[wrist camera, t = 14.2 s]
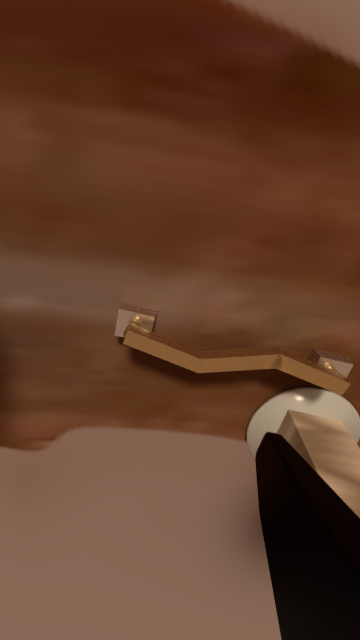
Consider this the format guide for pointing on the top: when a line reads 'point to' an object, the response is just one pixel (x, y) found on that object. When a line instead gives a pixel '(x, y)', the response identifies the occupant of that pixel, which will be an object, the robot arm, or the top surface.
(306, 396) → the coaster
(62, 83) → the top surface
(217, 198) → the top surface
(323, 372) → the zigzag wooden handle
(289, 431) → the maple peg
